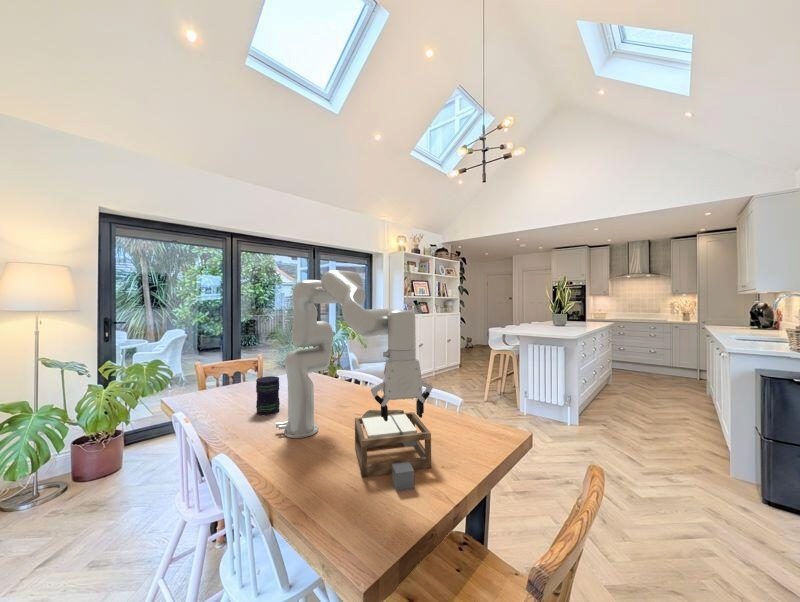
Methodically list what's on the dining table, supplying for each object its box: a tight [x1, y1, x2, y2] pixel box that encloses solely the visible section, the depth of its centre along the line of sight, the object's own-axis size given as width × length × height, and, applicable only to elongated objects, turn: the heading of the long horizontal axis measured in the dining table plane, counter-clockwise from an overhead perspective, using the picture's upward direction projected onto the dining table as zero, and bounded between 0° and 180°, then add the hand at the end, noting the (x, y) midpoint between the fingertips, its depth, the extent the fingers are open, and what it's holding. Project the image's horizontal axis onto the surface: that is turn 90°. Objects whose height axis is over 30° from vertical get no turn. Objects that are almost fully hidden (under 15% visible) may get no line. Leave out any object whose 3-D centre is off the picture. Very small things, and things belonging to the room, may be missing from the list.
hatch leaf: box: [362, 414, 418, 448], centre depth 102 cm, size 15×15×5 cm
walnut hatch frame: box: [354, 411, 432, 479], centre depth 103 cm, size 21×18×10 cm
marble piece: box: [361, 409, 405, 417], centre depth 131 cm, size 17×15×4 cm
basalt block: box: [391, 462, 415, 493], centre depth 88 cm, size 5×5×5 cm
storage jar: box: [255, 375, 281, 416], centre depth 146 cm, size 10×10×15 cm
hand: (402, 417), depth 88 cm, fingers open, 9 cm apart
